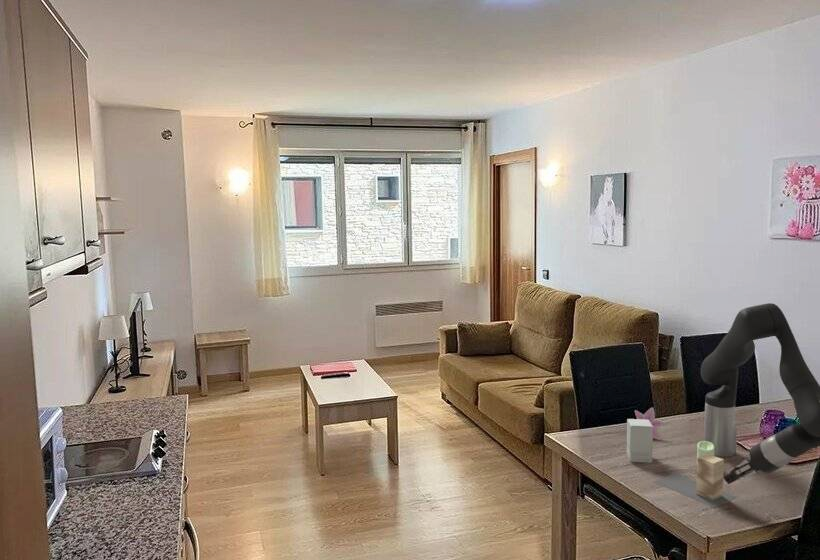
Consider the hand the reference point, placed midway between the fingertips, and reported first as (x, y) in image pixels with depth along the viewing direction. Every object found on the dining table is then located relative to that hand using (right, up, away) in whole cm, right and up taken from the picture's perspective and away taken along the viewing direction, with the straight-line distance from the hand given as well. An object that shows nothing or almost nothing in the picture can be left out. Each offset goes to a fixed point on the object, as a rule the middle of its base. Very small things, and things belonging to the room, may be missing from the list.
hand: (727, 480), depth 172 cm
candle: (+6, -4, +25) cm, 26 cm away
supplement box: (-12, -4, +34) cm, 36 cm away
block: (-3, -6, +5) cm, 8 cm away
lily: (-2, -2, +54) cm, 54 cm away
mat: (-5, -6, +9) cm, 12 cm away
